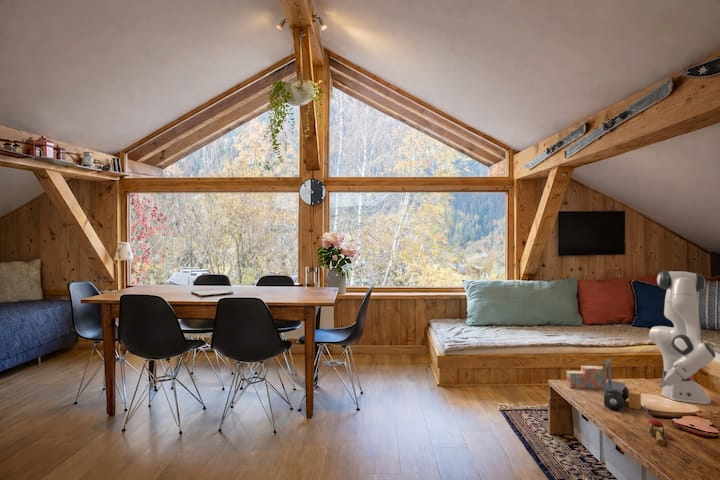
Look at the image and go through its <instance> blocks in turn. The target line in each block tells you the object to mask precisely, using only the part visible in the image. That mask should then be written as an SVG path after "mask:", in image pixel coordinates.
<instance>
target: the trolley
mask: <svg viewBox="0 0 720 480" xmlns="http://www.w3.org/2000/svg"><path fill="white" fill-rule="evenodd" d="M611 360H612V359H611V357H607V358H606V359H605V361H604V362H602V367H603V385H604V389H603V404H604V405H603V406H604V407H606V408H608V409H609V410H611V411H614V412H615V411H620V410H622V408H623V407H624V405H625V401H627V400H629V398H628V392H629V391H630V389H629V388H628V386H626V382H622V381H621V382H620V381H614V380H612V367H611V365H612V363H611V362H612V361H611ZM607 374H608V377H607ZM607 379H608V381H607Z"/></svg>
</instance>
